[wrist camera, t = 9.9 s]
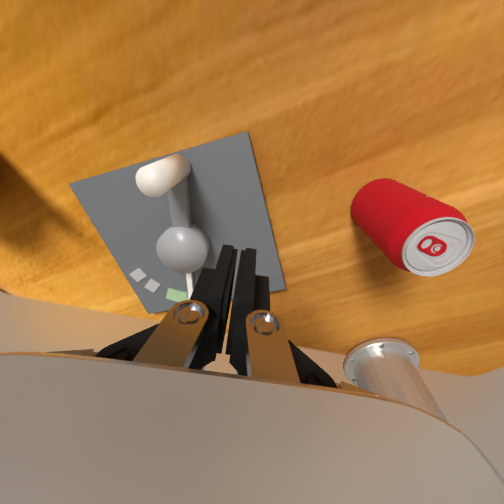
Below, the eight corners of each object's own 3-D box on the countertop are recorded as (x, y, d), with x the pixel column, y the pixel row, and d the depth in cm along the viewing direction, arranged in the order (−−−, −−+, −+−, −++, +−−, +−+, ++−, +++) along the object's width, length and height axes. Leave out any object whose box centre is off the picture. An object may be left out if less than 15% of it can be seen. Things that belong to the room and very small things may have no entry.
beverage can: (379, 234, 31) (437, 292, 21) (339, 214, 30) (379, 265, 20) (414, 190, 28) (502, 232, 18) (371, 167, 27) (438, 197, 17)
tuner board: (285, 284, 36) (285, 290, 35) (151, 308, 39) (148, 314, 38) (248, 131, 26) (247, 131, 25) (75, 181, 30) (67, 184, 28)
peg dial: (213, 306, 36) (202, 348, 30) (174, 304, 37) (154, 345, 30) (205, 155, 26) (185, 167, 19) (150, 152, 26) (111, 164, 20)
